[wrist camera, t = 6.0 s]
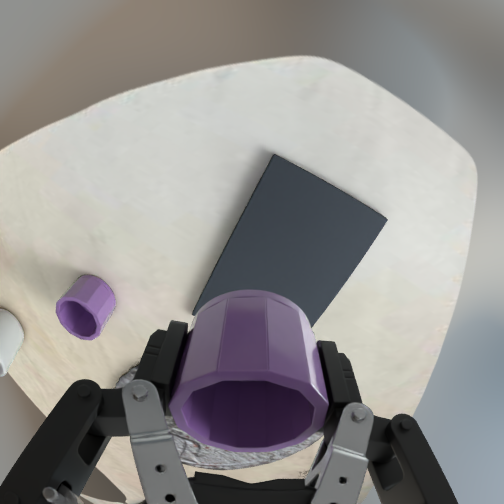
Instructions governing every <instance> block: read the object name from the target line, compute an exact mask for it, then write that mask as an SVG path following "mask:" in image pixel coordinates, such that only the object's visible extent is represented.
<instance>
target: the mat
mask: <svg viewBox="0 0 504 504" xmlns="http://www.w3.org/2000/svg"><path fill="white" fill-rule="evenodd" d="M386 222H387V218H385V217H384V216H382V215H381V214H379V213H378V212H376V211H374V210H373V209H371V208H370V207H368V206H366V205H365V204H363V203H361V202H360V201H358V200H356V199H355V198H353V197H351V196H350V195H348V194H346V193H345V192H343V191H341V190H340V189H338V188H336V187H334V186H333V185H331V184H329V183H327V182H326V181H324V180H322V179H320V178H319V177H317V176H315V175H313V174H311V173H309V172H308V171H306V170H304V169H302V168H300V167H298V166H297V165H295V164H293V163H291V162H289V161H287V160H285V159H283V158H281V157H279V156H277V155H275V154H274V155H273V156H272V158H271V160H270V162H269V164H268V166H267V168H266V170H265V171H264V173H263V175H262V177H261V179H260V181H259V183H258V185H257V186H256V188H255V190H254V192H253V194H252V196H251V198H250V200H249V202H248V204H247V206H246V207H245V209H244V211H243V213H242V215H241V217H240V219H239V221H238V223H237V225H236V227H235V229H234V231H233V233H232V234H231V236H230V238H229V240H228V242H227V244H226V246H225V248H224V250H223V252H222V254H221V256H220V258H219V260H218V262H217V264H216V266H215V268H214V270H213V272H212V274H211V276H210V278H209V280H208V282H207V284H206V286H205V288H204V290H203V292H202V294H201V296H200V298H199V300H198V302H197V304H196V306H195V308H194V310H193V313H192V315H193V316H195V315H196V314H197V312H198V311H199V310H200V309H201V307H202V306H204V305H205V304H206V303H207V302H209V301H210V300H212V299H213V298H215V297H217V296H219V295H222V294H225V293H228V292H232V291H237V290H246V289H253V290H263V291H268V292H272V293H275V294H278V295H281V296H283V297H285V298H287V299H289V300H290V301H292V302H293V303H295V304H296V305H297V306H298V307H299V308H300V309H301V310H302V311H303V312H304V314H305V315H306V317H307V318H308V320H309V323H310V325H311V328H312V327H313V325H314V324H315V323H316V321H317V320H318V319H319V317H320V316H321V315H322V314H323V312H324V311H325V310H326V308H327V307H328V306H329V304H330V303H331V302H332V300H333V299H334V298H335V296H336V295H337V293H338V292H339V291H340V289H341V288H342V287H343V285H344V284H345V282H346V281H347V280H348V278H349V277H350V275H351V274H352V273H353V271H354V270H355V268H356V267H357V265H358V264H359V263H360V261H361V260H362V258H363V257H364V255H365V254H366V252H367V251H368V249H369V248H370V246H371V245H372V243H373V242H374V240H375V239H376V237H377V236H378V234H379V233H380V231H381V230H382V228H383V227H384V225H385V223H386Z"/></svg>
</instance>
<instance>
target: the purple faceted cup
mask: <svg viewBox="0 0 504 504" xmlns="http://www.w3.org/2000/svg"><path fill="white" fill-rule="evenodd" d="M115 305H116V301H115V296H114V294H113V292H112V290H111V288H110V287H109V286H108V285H107V284H106V283H105V282H104V281H103V280H101V279H100V278H98V277H96V276H93V275H83V276H80V277H79V278H78V279H77V280H76V281H75V282H74V283H73V284H72V285H71V286H70V287H69V288H68V289H67V291H66V292H65V293H64V294H63V295H62V296H61V298H60V299H59V300H58V301H57V303H56V314H57V316H58V319H59V321H60V323H61V324H62V325H63V327H64V328H65V329H66V330H67V331H68V332H69V333H70V334H72V335H74V336H76V337H78V338H80V339H83V340H93V339H95V338H97V337H98V336H99V335H100V334H101V332H102V330H103V329H104V327H105V325H106V324H107V322H108V320H109V319H110V317H111V315H112V313H113V311H114V309H115Z"/></svg>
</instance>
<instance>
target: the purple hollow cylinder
mask: <svg viewBox="0 0 504 504" xmlns="http://www.w3.org/2000/svg"><path fill="white" fill-rule="evenodd" d="M328 406H329V402H328V397H327V392H326V387H325V382H324V377H323V372H322V367H321V362H320V358H319V353H318V348H317V344H316V339H315V335H314V332H313V331H312V329H311V325H310V323H309V320H308V318H307V317H306V315H305V314H304V312H303V311H302V310H301V309H300V308H299V307H298V306H297V305H296V304H295V303H293V302H292V301H290V300H289V299H287V298H285V297H283V296H281V295H278V294H275V293H272V292H268V291H263V290H253V289H246V290H237V291H232V292H228V293H225V294H222V295H219V296H217V297H215V298H213V299H212V300H210V301H209V302H207V303H206V304H205V305H204V306H202V307H201V309H200V310H199V311H198V312H197V314H196V315H195V317H194V319H193V321H192V324H191V327H190V330H189V332H188V334H187V336H186V340H185V344H184V347H183V351H182V355H181V358H180V362H179V366H178V369H177V373H176V377H175V381H174V384H173V388H172V392H171V396H170V399H169V402H168V407H169V410H170V412H171V414H172V416H173V419H174V421H175V423H176V425H177V427H178V428H179V429H181V430H182V431H184V432H185V433H187V434H188V435H190V436H191V437H193V438H194V439H196V440H197V441H199V442H200V443H202V444H205V445H209V446H212V447H216V448H220V449H224V450H228V451H232V452H272V451H276V450H279V449H283V448H286V447H290V446H293V445H296V444H300V443H302V442H304V441H305V440H306V439H308V438H309V437H310V436H312V435H313V434H314V433H315V432H317V431H318V430H319V429H321V428H322V427H323V425H324V423H325V419H326V415H327V410H328Z"/></svg>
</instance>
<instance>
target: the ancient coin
mask: <svg viewBox="0 0 504 504" xmlns="http://www.w3.org/2000/svg"><path fill="white" fill-rule="evenodd" d="M138 366H139V365H137V366H136V367H134V368H132V369H130V370H129V372H128V373H127V374H125V375H123V376H121V377H120V379H119V381H118V383H116V387H115V389H117V388H122V387H124V386H125V385H126V384H127V383H128V382H130V381H132V380H133V378H134V376H135V373H136V371H137V368H138ZM165 419H166V422H167V425H168V429H169V431H170V433H171V434H172V436H173V439H174V442H175V445H176V448H177V451H178V453H179V456H180V459H181V462H182V464H186V465H190V466H194V467H199V468H205V469H213V470H232V469H242V468H248V467H255V466H259V465H263V464H268V463H271V462H274V461H278V460H280V459H283V458H285V457H288V456H290V455H292V454H295V453H297V452H298V451H301V450H303V449H305V448H307V447H309V446H310V445H312V444H313V443H314V442H316V441H318V440H319V439H320V438H321V437H322V436H323V435H324V433H323V432H315V433H314V434H313V435H312V436H310V437H309V438H308V439H306V440H305V441H304V442H302V443H300V444H296V445H293V446H290V447H286V448H283V449H279V450H276V451H272V452H232V451H228V450H224V449H220V448H216V447H212V446H209V445H205V444H202V443H200V442H199V441H197V440H196V439H194V438H193V437H191V436H190V435H188V434H187V433H185V432H184V431H182V430H181V429H179V428H178V427H177V425H176V423H175V421H174V419H173V416H171V417H167V416H165Z"/></svg>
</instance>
